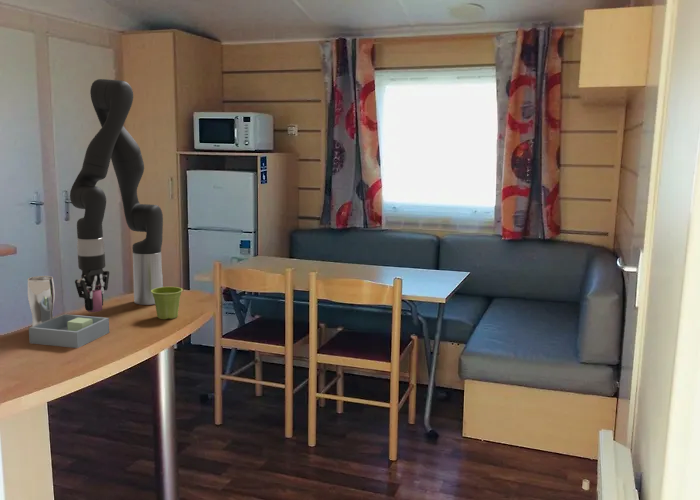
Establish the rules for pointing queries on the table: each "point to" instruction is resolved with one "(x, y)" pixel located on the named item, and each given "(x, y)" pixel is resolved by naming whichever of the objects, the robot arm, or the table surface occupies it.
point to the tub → (59, 335)
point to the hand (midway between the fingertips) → (94, 307)
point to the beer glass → (41, 298)
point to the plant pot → (167, 301)
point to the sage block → (79, 323)
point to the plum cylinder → (96, 300)
